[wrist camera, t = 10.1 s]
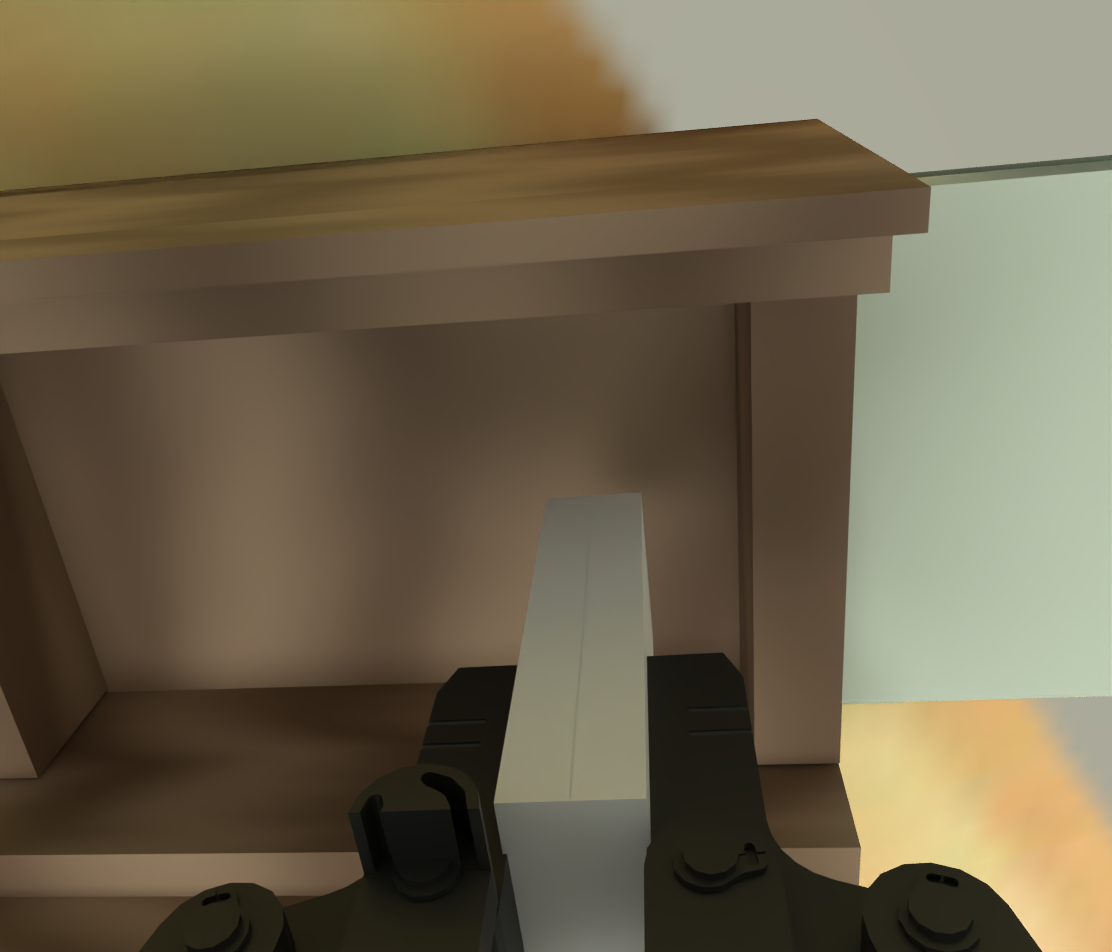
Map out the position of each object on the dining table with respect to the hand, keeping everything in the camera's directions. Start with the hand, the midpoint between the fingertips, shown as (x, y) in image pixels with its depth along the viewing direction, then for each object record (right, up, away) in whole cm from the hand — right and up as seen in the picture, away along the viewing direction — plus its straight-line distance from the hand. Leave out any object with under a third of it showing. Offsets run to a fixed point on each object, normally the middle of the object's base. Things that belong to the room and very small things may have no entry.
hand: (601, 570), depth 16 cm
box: (-4, +2, +5) cm, 7 cm away
